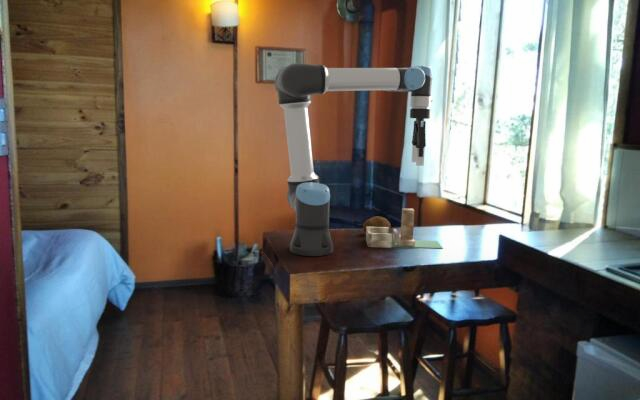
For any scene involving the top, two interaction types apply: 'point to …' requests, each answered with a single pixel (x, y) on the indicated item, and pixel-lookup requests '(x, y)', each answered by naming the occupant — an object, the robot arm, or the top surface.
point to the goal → (378, 237)
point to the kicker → (405, 229)
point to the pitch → (421, 244)
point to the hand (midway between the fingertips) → (417, 163)
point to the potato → (376, 222)
